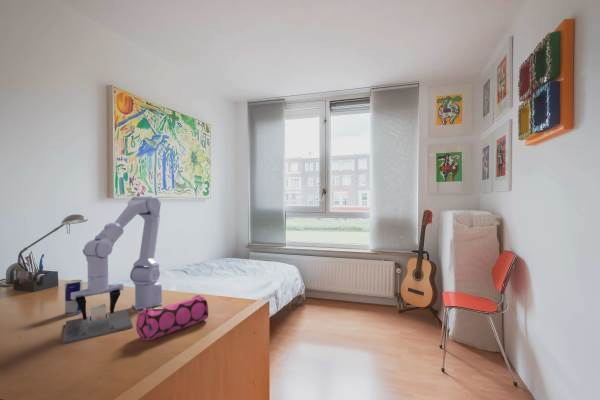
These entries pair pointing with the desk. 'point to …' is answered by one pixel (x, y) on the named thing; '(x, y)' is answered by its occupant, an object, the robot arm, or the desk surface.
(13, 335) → the desk surface
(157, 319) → the pencil case
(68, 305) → the energy drink
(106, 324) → the stand
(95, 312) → the post
